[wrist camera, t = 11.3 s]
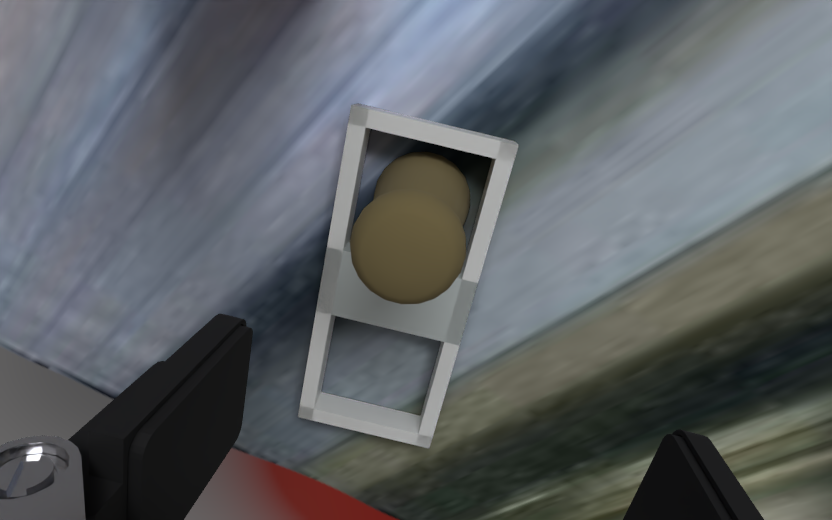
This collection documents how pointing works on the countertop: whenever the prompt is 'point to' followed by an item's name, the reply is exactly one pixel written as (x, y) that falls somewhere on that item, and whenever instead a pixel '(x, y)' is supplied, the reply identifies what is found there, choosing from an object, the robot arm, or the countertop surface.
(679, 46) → the countertop surface
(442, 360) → the socket frame
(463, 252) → the cork
